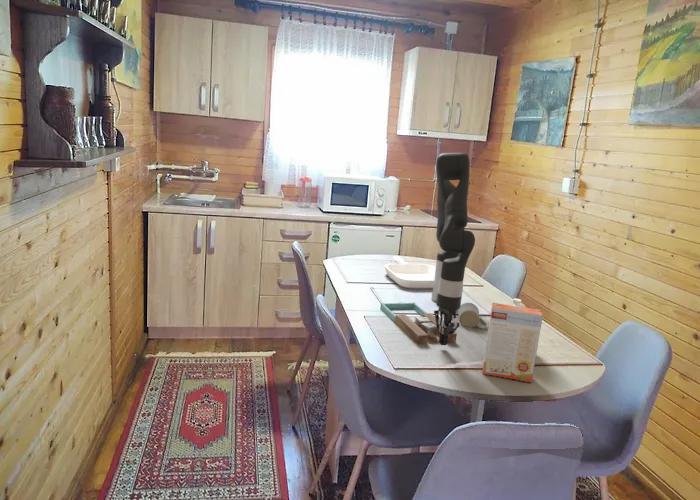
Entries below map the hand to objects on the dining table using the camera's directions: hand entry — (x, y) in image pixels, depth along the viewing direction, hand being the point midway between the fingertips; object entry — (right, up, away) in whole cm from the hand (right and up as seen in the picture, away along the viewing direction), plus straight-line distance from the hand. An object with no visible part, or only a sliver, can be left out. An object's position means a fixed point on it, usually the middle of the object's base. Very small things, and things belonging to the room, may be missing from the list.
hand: (442, 344), depth 170 cm
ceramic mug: (+15, +2, +26) cm, 30 cm away
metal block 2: (-3, +1, +10) cm, 10 cm away
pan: (-1, +17, +86) cm, 88 cm away
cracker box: (+17, -7, -12) cm, 22 cm away
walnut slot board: (-4, +1, +13) cm, 14 cm away
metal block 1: (-5, +2, +15) cm, 16 cm away
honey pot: (+24, -3, +7) cm, 25 cm away
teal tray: (-9, +5, +29) cm, 31 cm away
